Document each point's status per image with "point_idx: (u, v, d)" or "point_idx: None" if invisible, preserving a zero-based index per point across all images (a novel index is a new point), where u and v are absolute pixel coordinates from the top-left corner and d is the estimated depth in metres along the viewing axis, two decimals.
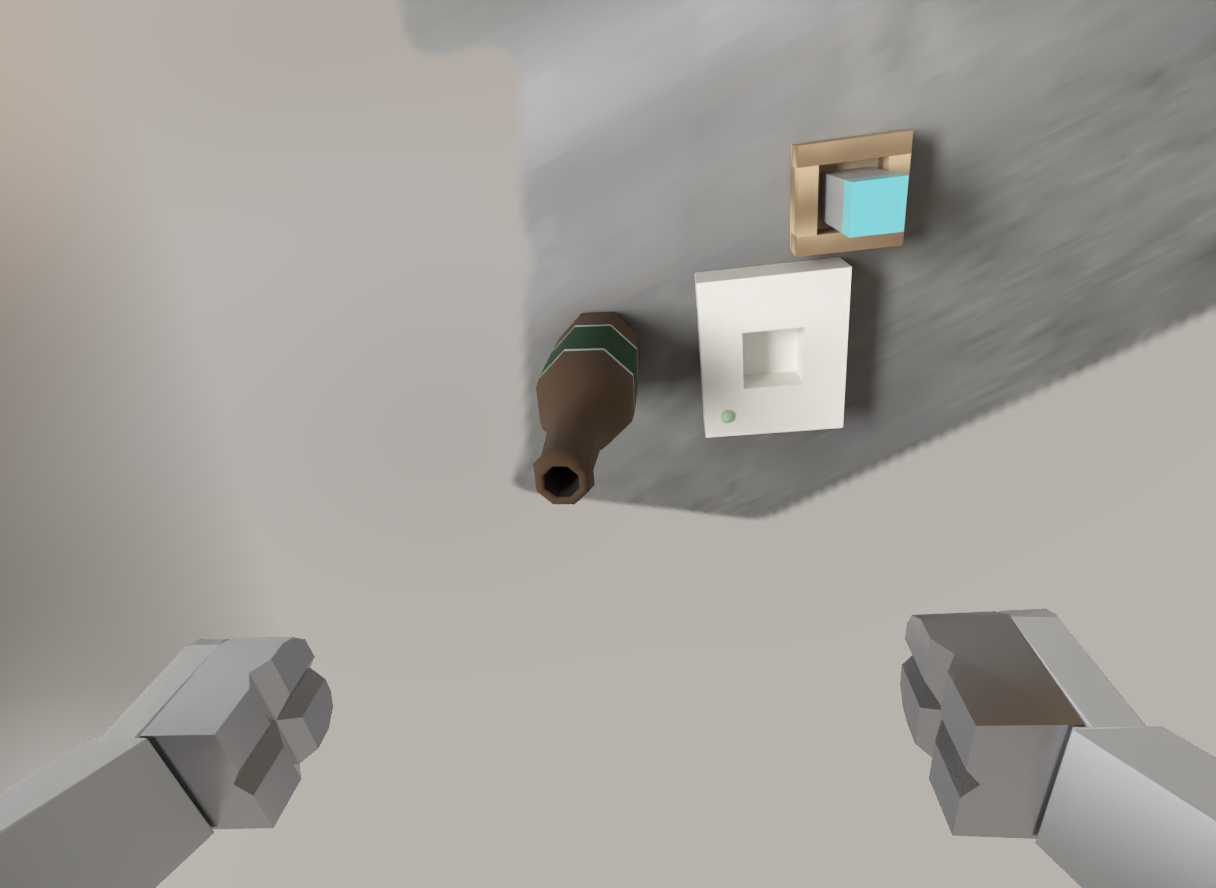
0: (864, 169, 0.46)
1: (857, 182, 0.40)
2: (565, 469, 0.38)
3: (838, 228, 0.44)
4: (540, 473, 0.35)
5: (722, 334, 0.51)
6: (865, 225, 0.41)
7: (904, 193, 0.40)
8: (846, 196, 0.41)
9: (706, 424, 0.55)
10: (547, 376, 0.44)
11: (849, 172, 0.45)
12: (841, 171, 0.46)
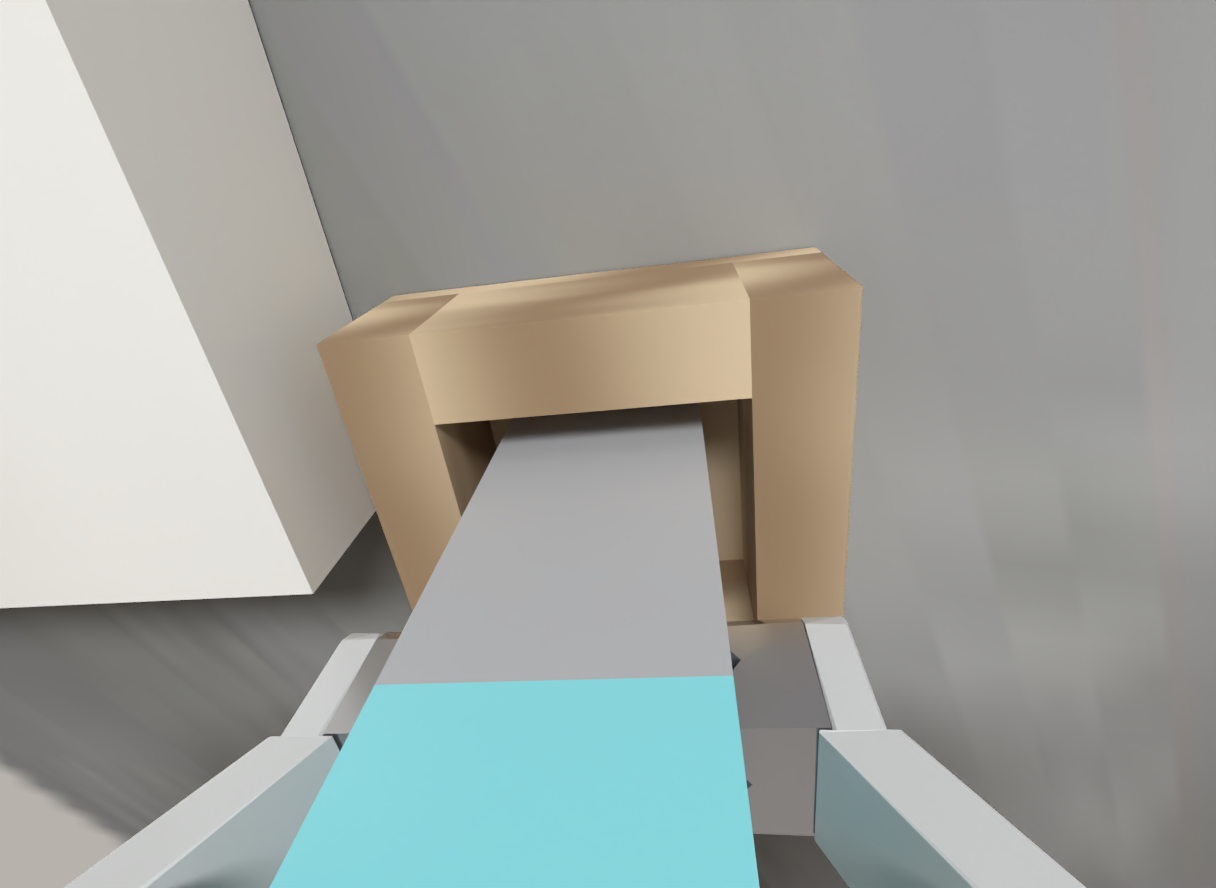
0: None
1: None
2: None
3: (427, 608, 0.07)
4: None
5: None
6: None
7: None
8: (619, 742, 0.05)
9: None
10: None
11: None
12: None
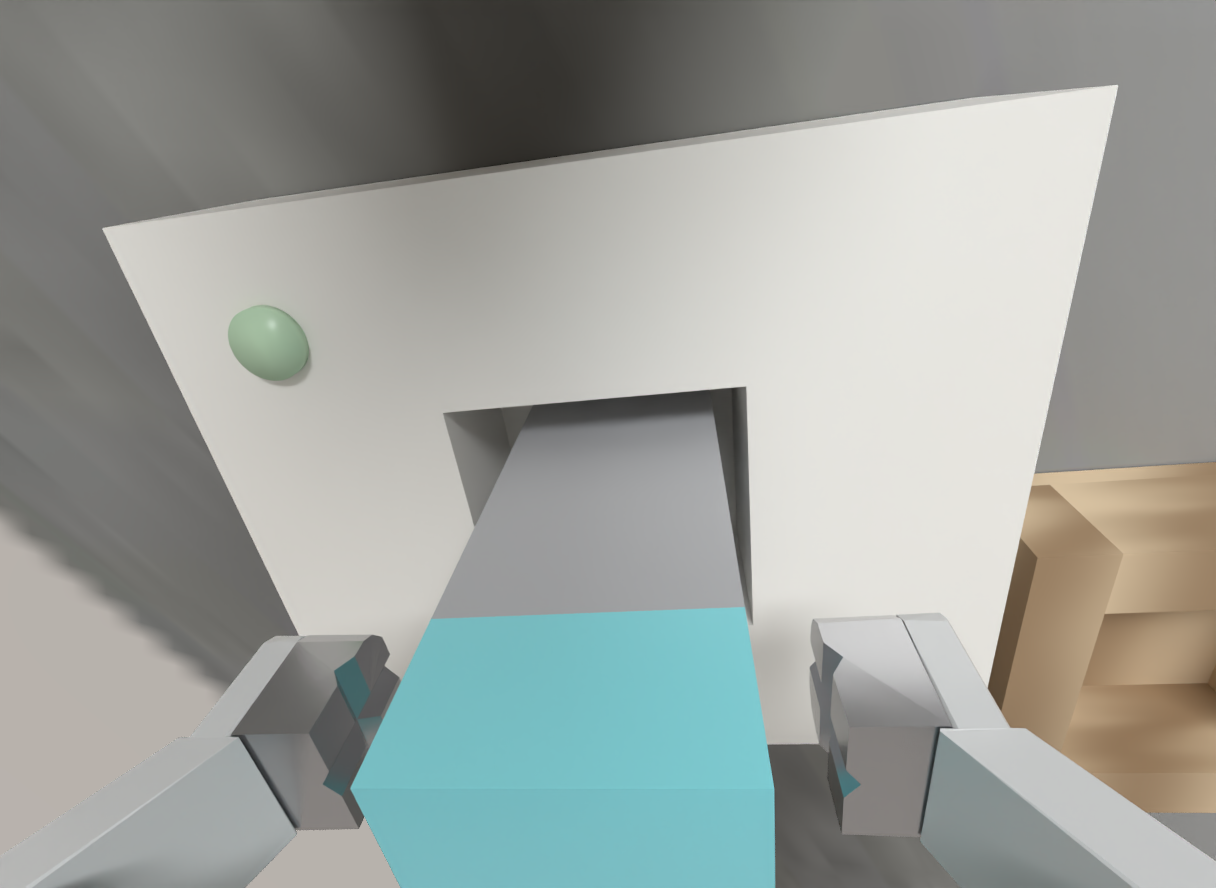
0: None
1: (766, 811, 0.05)
2: None
3: (471, 559, 0.08)
4: None
5: (743, 284, 0.09)
6: (458, 857, 0.06)
7: None
8: (648, 659, 0.06)
9: (184, 226, 0.09)
10: None
11: None
12: None
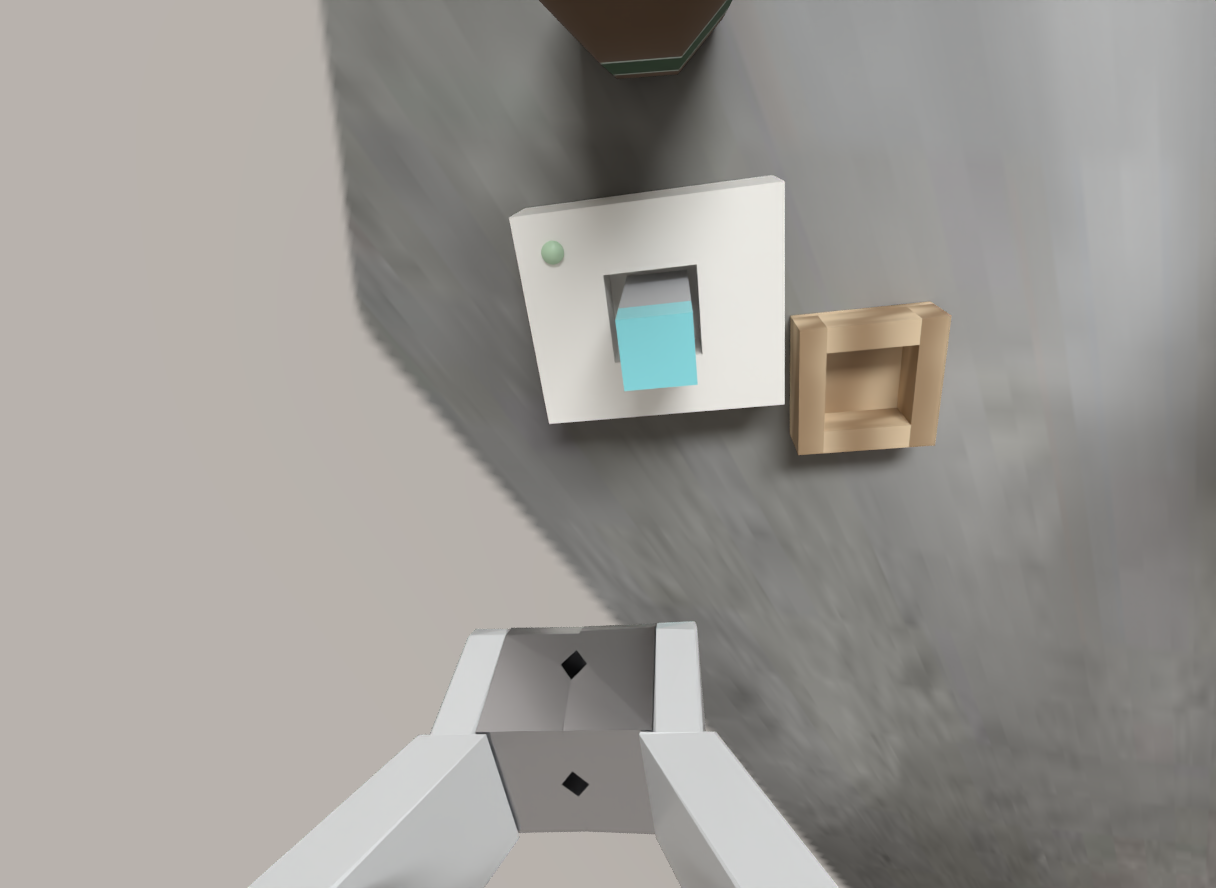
0: None
1: (691, 319, 0.27)
2: None
3: (623, 302, 0.30)
4: None
5: (694, 233, 0.31)
6: (633, 339, 0.28)
7: (674, 383, 0.29)
8: (670, 306, 0.28)
9: (534, 217, 0.32)
10: None
11: None
12: None
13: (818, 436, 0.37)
